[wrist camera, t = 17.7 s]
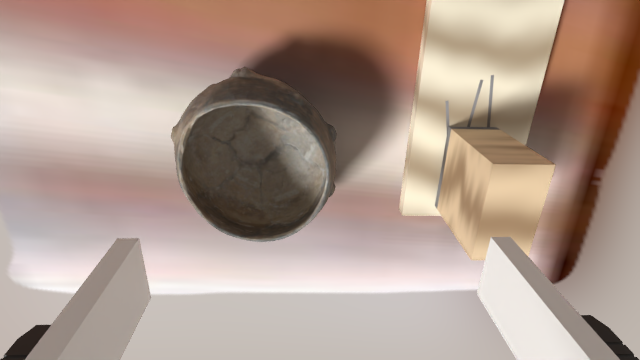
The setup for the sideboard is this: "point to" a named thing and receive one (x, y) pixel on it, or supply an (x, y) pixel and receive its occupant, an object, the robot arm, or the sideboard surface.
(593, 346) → the robot arm
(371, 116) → the sideboard surface
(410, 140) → the board
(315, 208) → the bowl
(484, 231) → the block
